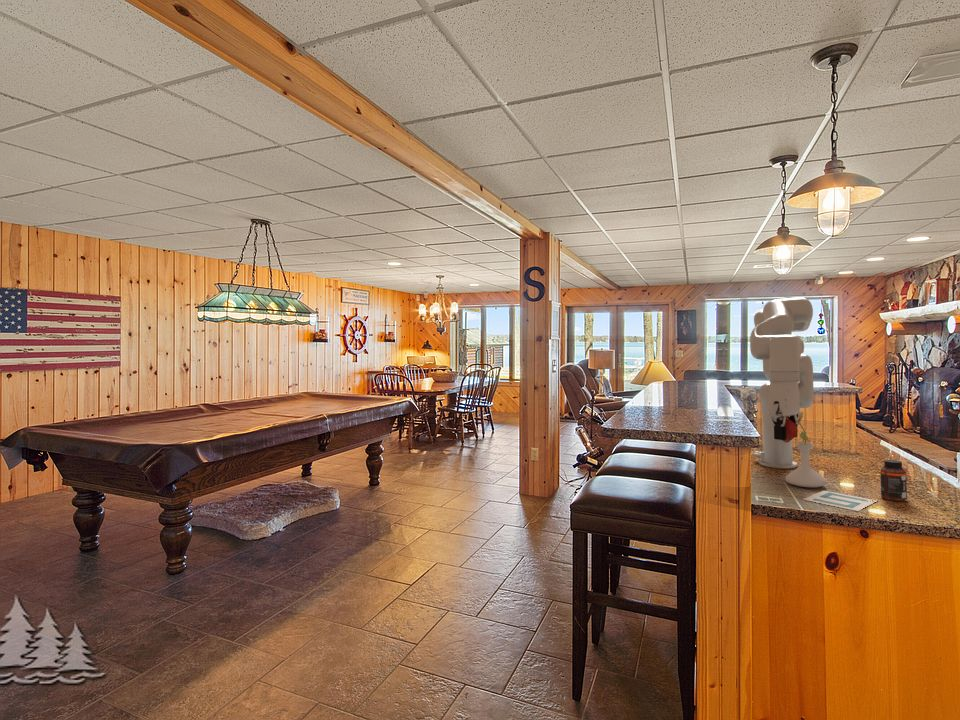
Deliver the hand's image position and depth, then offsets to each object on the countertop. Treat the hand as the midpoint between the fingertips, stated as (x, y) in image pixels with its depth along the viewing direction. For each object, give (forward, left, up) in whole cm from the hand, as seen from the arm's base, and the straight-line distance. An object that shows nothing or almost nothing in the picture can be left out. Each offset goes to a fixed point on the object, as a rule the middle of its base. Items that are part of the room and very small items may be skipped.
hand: (785, 437), depth 148 cm
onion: (0, 0, -2) cm, 2 cm away
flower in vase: (-4, +21, -19) cm, 29 cm away
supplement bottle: (+18, +25, -19) cm, 36 cm away
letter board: (+9, +12, -19) cm, 24 cm away
